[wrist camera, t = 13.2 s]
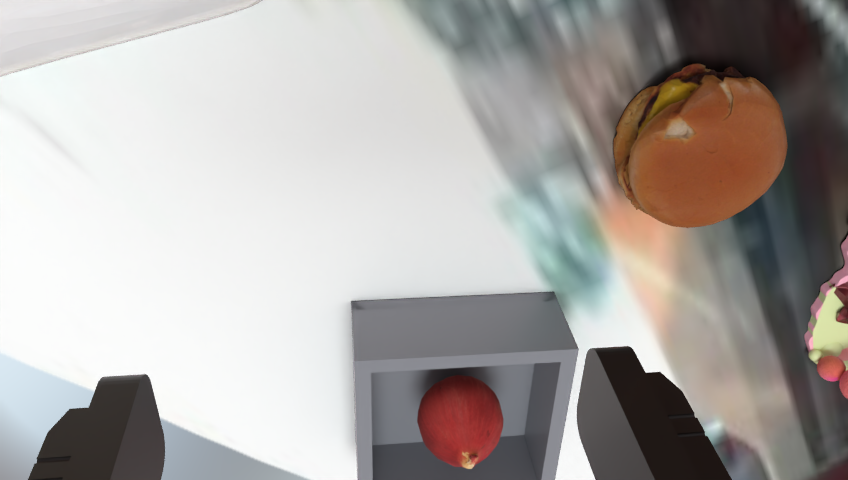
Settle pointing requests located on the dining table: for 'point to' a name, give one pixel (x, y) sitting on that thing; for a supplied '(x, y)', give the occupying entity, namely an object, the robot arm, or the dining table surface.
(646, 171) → the burger
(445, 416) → the onion
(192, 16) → the square plate
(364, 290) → the dining table surface
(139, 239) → the dining table surface
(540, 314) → the bin
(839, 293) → the candy dessert platter
